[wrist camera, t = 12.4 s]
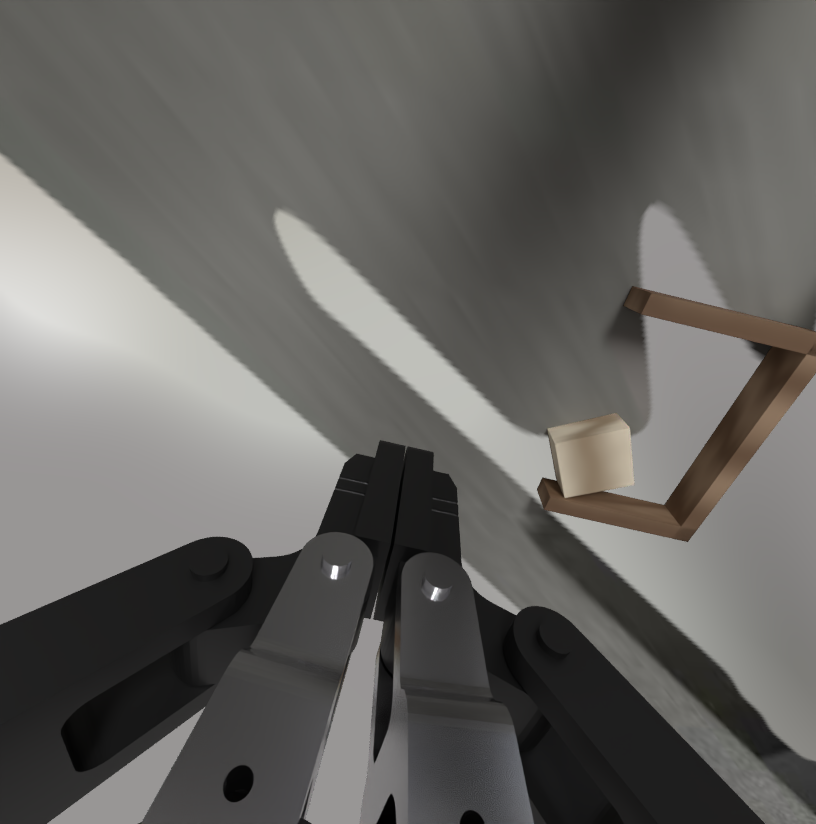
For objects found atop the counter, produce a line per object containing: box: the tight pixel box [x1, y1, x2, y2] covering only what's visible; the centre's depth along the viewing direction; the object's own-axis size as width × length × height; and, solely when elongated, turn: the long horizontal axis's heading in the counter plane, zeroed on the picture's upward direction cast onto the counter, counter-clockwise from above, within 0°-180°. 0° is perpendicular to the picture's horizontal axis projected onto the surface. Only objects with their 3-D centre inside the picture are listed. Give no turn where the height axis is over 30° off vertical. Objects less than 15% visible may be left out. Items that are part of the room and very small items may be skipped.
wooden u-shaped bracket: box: [537, 286, 816, 542], centre depth 33 cm, size 20×14×3 cm
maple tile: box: [547, 413, 634, 498], centre depth 35 cm, size 6×6×3 cm
